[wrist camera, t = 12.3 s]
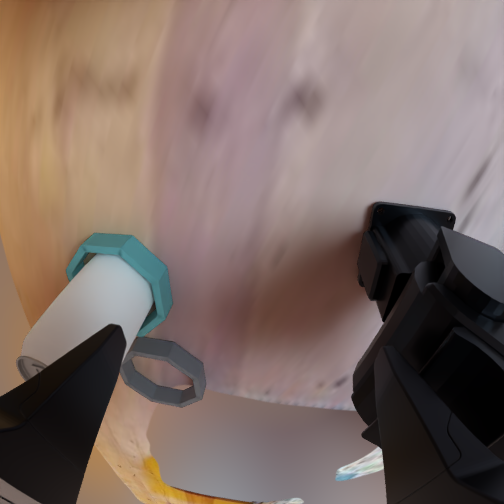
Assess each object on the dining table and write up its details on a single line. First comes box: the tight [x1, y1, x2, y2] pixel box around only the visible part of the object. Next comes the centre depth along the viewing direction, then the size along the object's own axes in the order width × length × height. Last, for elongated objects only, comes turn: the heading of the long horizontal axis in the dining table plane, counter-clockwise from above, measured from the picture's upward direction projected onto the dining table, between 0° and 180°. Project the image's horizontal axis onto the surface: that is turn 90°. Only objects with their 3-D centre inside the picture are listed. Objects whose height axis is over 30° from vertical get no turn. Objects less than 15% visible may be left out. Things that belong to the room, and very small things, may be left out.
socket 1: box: [66, 233, 173, 337], centre depth 24 cm, size 9×9×2 cm
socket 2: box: [120, 337, 206, 407], centre depth 29 cm, size 9×9×2 cm
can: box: [16, 253, 154, 381], centre depth 19 cm, size 6×6×12 cm
